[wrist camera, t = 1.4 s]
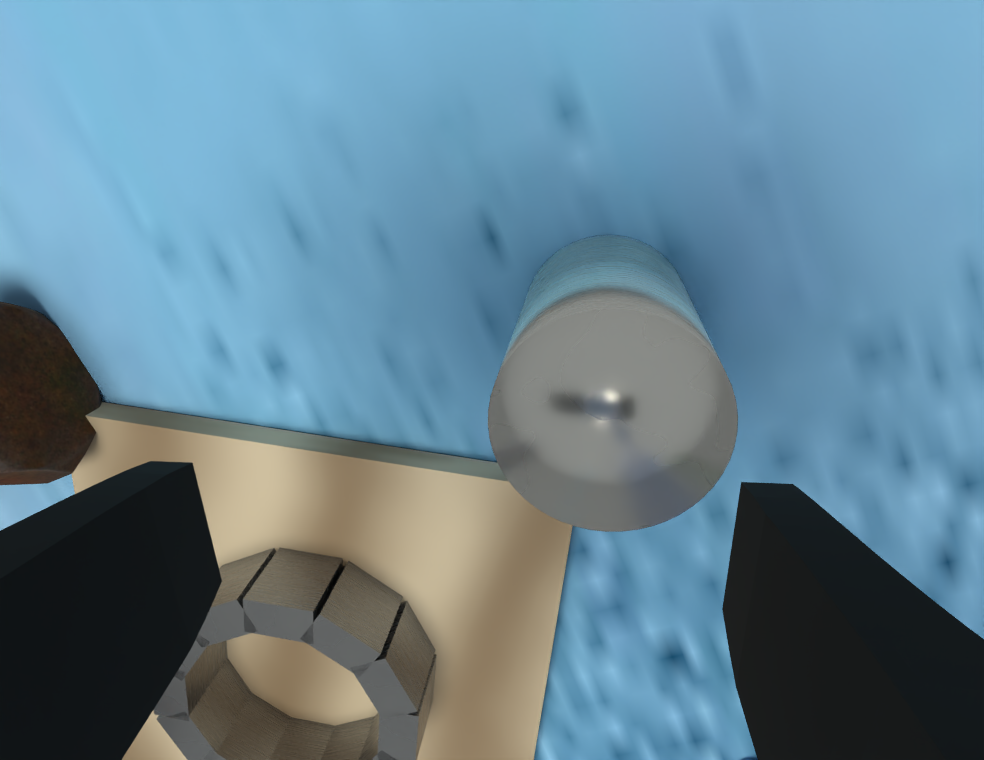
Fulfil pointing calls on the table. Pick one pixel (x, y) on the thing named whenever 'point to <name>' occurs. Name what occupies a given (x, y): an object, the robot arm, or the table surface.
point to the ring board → (371, 566)
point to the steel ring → (326, 627)
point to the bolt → (41, 400)
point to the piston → (611, 391)
